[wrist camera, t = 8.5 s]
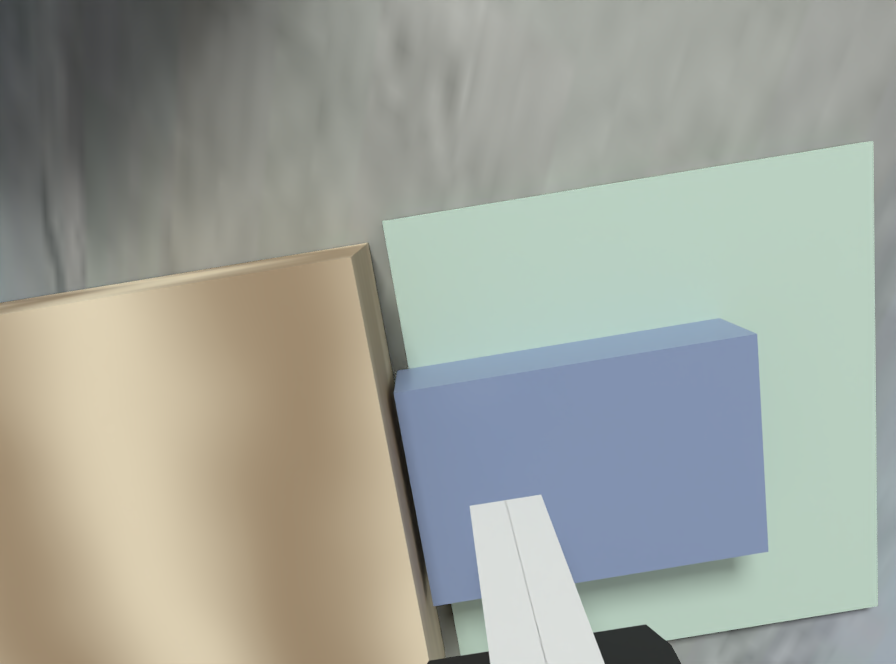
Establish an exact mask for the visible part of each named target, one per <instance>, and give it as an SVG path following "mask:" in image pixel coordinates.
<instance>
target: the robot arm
mask: <svg viewBox="0 0 896 664" xmlns="http://www.w3.org/2000/svg"><path fill="white" fill-rule="evenodd" d="M470 513H471V521H472V528H473V536H474V544H475V551H476V559H477V566H478V574H479V581H480V589H481V597H482V604H483V612H484V619H485V627H486V634H487V642H488V650H489V651H487V652H481V653H475V654H468V655H462V656H455V657H449V658H443V659H436V660H430V661H428V663H427V664H681V663H680V661H679V659H678V657H677V655H676V653H675V651H674V650H673V648H672V646H671V645H670V644H669V643H668V642H667V641H666V640H664V639H663V638H662V637H661V636H660V635H658V634H657V633H656V632H655V631H653V630H652V629H651V628H650V627H649V626H647V625H646V624H645V625H638V626H632V627H625V628H619V629H613V630H606V631H600V632H594V633H593V631H592V629H591V626H590V623H589V621H588V618H587V615H586V613H585V610H584V607H583V605H582V602H581V599H580V597H579V594H578V591H577V589H576V586H575V583H574V581H573V578H572V575H571V573H570V570H569V567H568V565H567V562H566V559H565V557H564V554H563V551H562V549H561V546H560V543H559V541H558V538H557V535H556V533H555V530H554V527H553V525H552V522H551V520H550V517H549V514H548V512H547V509H546V506H545V504H544V501H543V498H542V496H541V495H535V496H529V497H522V498H516V499H510V500H503V501H497V502H491V503H484V504H478V505H472V506H470Z"/></svg>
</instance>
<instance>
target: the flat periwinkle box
mask: <svg viewBox="0 0 896 664" xmlns="http://www.w3.org/2000/svg"><path fill="white" fill-rule="evenodd" d="M394 398H395V403H396V409H397V414H398V419H399V425H400V430H401V435H402V441H403V446H404V452H405V457H406V462H407V468H408V473H409V478H410V484H411V489H412V494H413V500H414V505H415V510H416V516H417V521H418V526H419V532H420V537H421V542H422V548H423V553H424V558H425V564H426V569H427V574H428V580H429V585H430V590H431V596H432V601H433V606H438V605H445V604H451V603H457V602H463V601H469V600H475V599H481V598H482V597H481V589H480V581H479V574H478V566H477V559H476V551H475V544H474V536H473V528H472V521H471V513H470V506H472V505H478V504H484V503H491V502H497V501H503V500H510V499H516V498H522V497H529V496H535V495H541V496H542V498H543V501H544V504H545V506H546V509H547V512H548V514H549V517H550V520H551V522H552V525H553V527H554V530H555V533H556V535H557V538H558V541H559V543H560V546H561V549H562V551H563V554H564V557H565V559H566V562H567V565H568V567H569V570H570V573H571V575H572V578H573V581H574V583H580V582H586V581H592V580H598V579H604V578H610V577H617V576H623V575H629V574H635V573H641V572H647V571H653V570H660V569H666V568H672V567H678V566H684V565H690V564H696V563H702V562H709V561H715V560H721V559H727V558H733V557H739V556H745V555H752V554H758V553H764V552H768V532H767V513H766V493H765V474H764V455H763V435H762V416H761V397H760V377H759V358H758V339H757V334H756V333H754V332H752V331H749V330H747V329H744V328H742V327H740V326H737V325H735V324H733V323H730V322H728V321H726V320H723V319H721V318H717V319H711V320H705V321H699V322H693V323H687V324H680V325H674V326H668V327H662V328H656V329H650V330H644V331H637V332H631V333H625V334H619V335H613V336H607V337H601V338H595V339H588V340H582V341H576V342H570V343H564V344H558V345H552V346H546V347H539V348H533V349H527V350H521V351H515V352H509V353H503V354H497V355H490V356H484V357H478V358H472V359H466V360H460V361H454V362H448V363H441V364H435V365H429V366H423V367H417V368H411V369H405V370H398V371H397V375H396V382H395V388H394Z"/></svg>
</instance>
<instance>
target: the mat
mask: <svg viewBox="0 0 896 664" xmlns="http://www.w3.org/2000/svg"><path fill="white" fill-rule="evenodd" d="M382 223H383V229H384V234H385V240H386V245H387V251H388V256H389V262H390V267H391V273H392V279H393V284H394V290H395V295H396V301H397V306H398V312H399V317H400V323H401V328H402V334H403V339H404V345H405V350H406V356H407V362H408V367H409V369H411V368H417V367H423V366H429V365H435V364H441V363H448V362H454V361H460V360H466V359H472V358H478V357H484V356H490V355H497V354H503V353H509V352H515V351H521V350H527V349H533V348H539V347H546V346H552V345H558V344H564V343H570V342H576V341H582V340H588V339H595V338H601V337H607V336H613V335H619V334H625V333H631V332H637V331H644V330H650V329H656V328H662V327H668V326H674V325H680V324H687V323H693V322H699V321H705V320H711V319H717V318H721V319H723V320H726V321H728V322H730V323H733V324H735V325H737V326H740V327H742V328H744V329H747V330H749V331H752V332H754V333H756V334H757V339H758V358H759V377H760V397H761V416H762V435H763V455H764V474H765V493H766V513H767V532H768V552H764V553H758V554H752V555H745V556H739V557H733V558H727V559H721V560H715V561H709V562H702V563H696V564H690V565H684V566H678V567H672V568H666V569H660V570H653V571H647V572H641V573H635V574H629V575H623V576H617V577H610V578H604V579H598V580H592V581H586V582H580V583H575V586H576V589H577V591H578V594H579V597H580V599H581V602H582V605H583V607H584V610H585V613H586V615H587V618H588V621H589V623H590V626H591V629H592V631H593V633H594V632H600V631H606V630H613V629H619V628H625V627H632V626H638V625H645V624H646V625H647V626H649V627H650V628H651V629H652V630H653V631H655V632H656V633H657V634H658V635H660V636H661V637H662V638H663V639H664V640H666V641H667V640H673V639H679V638H685V637H692V636H698V635H704V634H710V633H716V632H722V631H728V630H734V629H741V628H747V627H753V626H759V625H765V624H771V623H777V622H783V621H790V620H796V619H802V618H808V617H814V616H820V615H826V614H832V613H839V612H845V611H851V610H857V609H863V608H869V607H875V606H878V579H877V475H876V371H875V267H874V163H873V141H870V142H862V143H856V144H850V145H843V146H837V147H831V148H825V149H819V150H813V151H807V152H801V153H795V154H789V155H783V156H776V157H770V158H764V159H758V160H752V161H746V162H740V163H734V164H728V165H722V166H715V167H709V168H703V169H697V170H691V171H685V172H679V173H673V174H667V175H661V176H654V177H648V178H642V179H636V180H630V181H624V182H618V183H612V184H606V185H600V186H594V187H587V188H581V189H575V190H569V191H563V192H557V193H551V194H545V195H539V196H533V197H526V198H520V199H514V200H508V201H502V202H496V203H490V204H484V205H478V206H472V207H465V208H459V209H453V210H447V211H441V212H435V213H429V214H423V215H417V216H411V217H405V218H398V219H392V220H386V221H382ZM451 605H452V611H453V616H454V622H455V627H456V633H457V638H458V644H459V649H460V655H461V656H462V655H468V654H475V653H481V652H487V651H489V650H488V642H487V634H486V627H485V619H484V612H483V604H482V598H481V599H475V600H469V601H463V602H457V603H451Z"/></svg>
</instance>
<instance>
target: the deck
mask: <svg viewBox="0 0 896 664" xmlns="http://www.w3.org/2000/svg"><path fill="white" fill-rule="evenodd" d="M394 388H395V383H394V378H393V372H392V367H391V361H390V356H389V351H388V345H387V340H386V335H385V329H384V324H383V319H382V313H381V308H380V303H379V297H378V292H377V287H376V281H375V276H374V271H373V265H372V260H371V254H370V249H369V244H368V243H363V244H357V245H350V246H344V247H338V248H332V249H326V250H320V251H314V252H308V253H302V254H296V255H290V256H283V257H277V258H271V259H265V260H259V261H253V262H247V263H241V264H235V265H229V266H222V267H216V268H210V269H204V270H198V271H192V272H186V273H180V274H174V275H168V276H161V277H155V278H149V279H143V280H137V281H131V282H125V283H119V284H113V285H107V286H100V287H94V288H88V289H82V290H76V291H70V292H64V293H58V294H52V295H46V296H39V297H33V298H27V299H21V300H15V301H9V302H3V303H0V664H427V663H428V661H430V660H436V659H443V658H445V651H444V645H443V640H442V634H441V629H440V624H439V618H438V613H437V608H436V606H433V601H432V596H431V590H430V585H429V580H428V574H427V569H426V564H425V558H424V553H423V548H422V542H421V537H420V532H419V526H418V521H417V516H416V510H415V505H414V500H413V494H412V489H411V484H410V478H409V473H408V468H407V462H406V457H405V452H404V446H403V441H402V435H401V430H400V425H399V419H398V414H397V409H396V403H395V398H394Z"/></svg>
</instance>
